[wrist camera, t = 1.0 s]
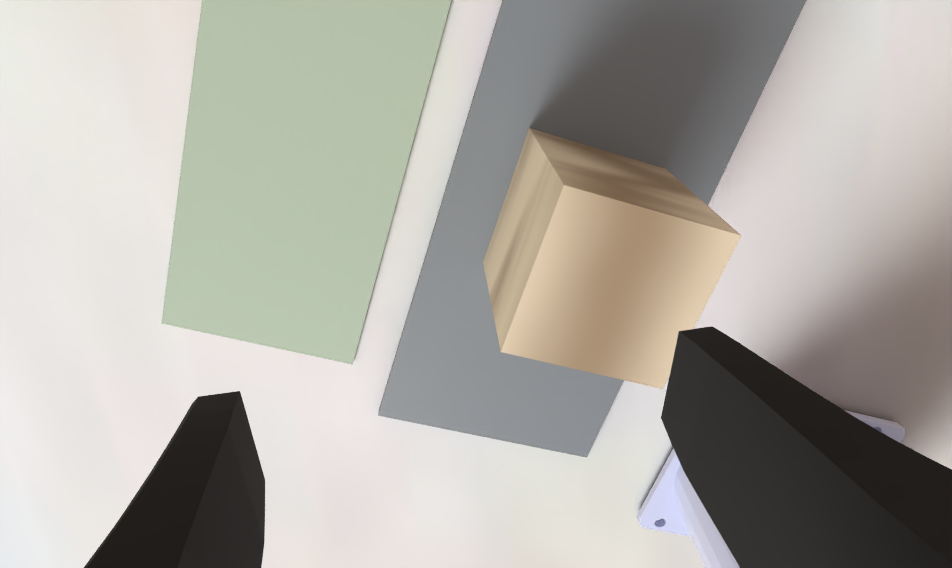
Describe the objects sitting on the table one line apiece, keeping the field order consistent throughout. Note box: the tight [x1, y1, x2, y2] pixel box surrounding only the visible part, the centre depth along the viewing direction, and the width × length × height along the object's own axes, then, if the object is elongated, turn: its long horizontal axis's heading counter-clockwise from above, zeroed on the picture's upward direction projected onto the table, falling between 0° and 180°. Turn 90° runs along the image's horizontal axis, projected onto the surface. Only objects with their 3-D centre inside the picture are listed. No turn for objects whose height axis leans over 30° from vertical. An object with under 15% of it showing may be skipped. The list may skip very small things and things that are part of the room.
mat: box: [162, 0, 451, 364], centre depth 22 cm, size 7×16×1 cm, turn 163°
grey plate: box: [378, 0, 806, 457], centre depth 23 cm, size 9×20×1 cm, turn 163°
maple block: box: [483, 128, 741, 389], centre depth 21 cm, size 5×5×6 cm
